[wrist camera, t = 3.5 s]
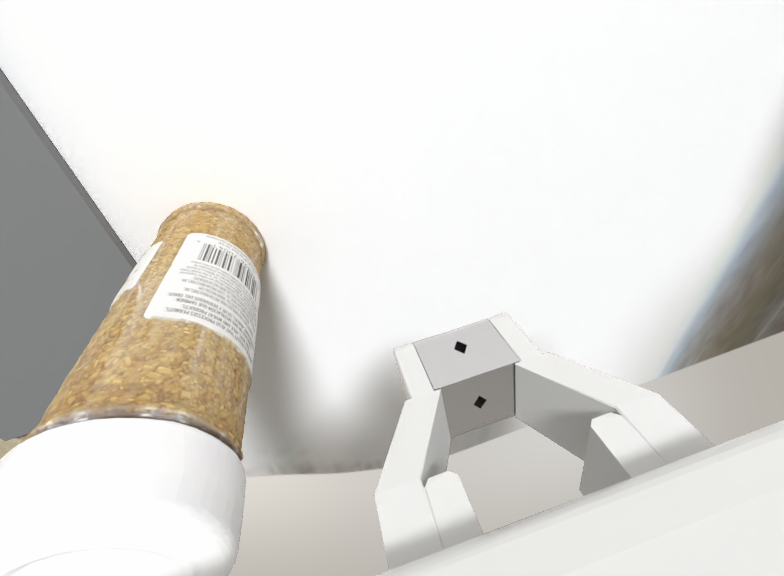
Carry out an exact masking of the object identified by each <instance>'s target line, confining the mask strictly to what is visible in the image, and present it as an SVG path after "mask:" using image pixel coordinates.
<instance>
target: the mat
mask: <svg viewBox="0 0 784 576" xmlns="http://www.w3.org/2000/svg"><path fill="white" fill-rule="evenodd" d="M136 264H137V263H136V262H135V261H134V259H133V258H132V256H131V255H130V253H129V252H128V251H127V249H126V248H125V246H124V245H123V243H122V242H121V241H120V239H119V238H118V236H117V235H116V233H115V232H114V231H113V229H112V228H111V226H110V225H109V223H108V222H107V221H106V219H105V218H104V216H103V215H102V213H101V212H100V211H99V209H98V208H97V206H96V205H95V203H94V202H93V201H92V199H91V198H90V196H89V195H88V193H87V192H86V191H85V189H84V188H83V186H82V185H81V183H80V182H79V181H78V179H77V178H76V176H75V175H74V173H73V172H72V171H71V169H70V168H69V166H68V165H67V163H66V162H65V161H64V159H63V158H62V156H61V155H60V154H59V152H58V151H57V149H56V148H55V146H54V145H53V144H52V142H51V141H50V139H49V138H48V136H47V135H46V134H45V132H44V131H43V129H42V128H41V126H40V125H39V124H38V122H37V121H36V119H35V118H34V116H33V115H32V114H31V112H30V111H29V109H28V108H27V106H26V105H25V104H24V102H23V101H22V99H21V98H20V96H19V95H18V94H17V92H16V91H15V89H14V88H13V86H12V85H11V84H10V82H9V81H8V79H7V78H6V76H5V75H4V74H3V72H2V71H1V69H0V438H1V439H3V440H4V441H7V440H10V439H13V438H16V437H20V436H23V435H26V434H29V433H30V432H31V431H32V430H33V429H35V428H36V426H37V425H38V424H39V423H40V422H41V420H42V418H43V415H44V413H45V411H46V409H47V408H48V406H49V405H50V404H51V402H52V401H53V399H54V397H55V396H56V394H57V393H58V391H59V389H60V387H61V385H62V383H63V382H64V380H65V378H66V377H67V375H68V374H69V373H70V371H71V370H72V368H73V367H74V365H75V364H76V362H77V361H78V359H79V357H80V356H81V355H82V353H83V351H84V350H85V348H86V346H87V345H88V344H89V342H90V340H91V339H92V337H93V335H94V334H95V332H96V331H97V330H98V328H99V327H100V325H101V323H102V321H103V320H104V319H105V317H106V316H107V314H108V312H109V310H110V307H111V304H112V302H113V301H114V299H115V297H116V295H117V294H118V292H119V291H120V289H121V287H122V286H123V285H124V283H125V282H126V280H127V278H128V276H129V275H130V273H131V272H132V270H133V269H134V267H135V266H136Z"/></svg>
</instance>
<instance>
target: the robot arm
mask: <svg viewBox="0 0 784 576" xmlns="http://www.w3.org/2000/svg"><path fill="white" fill-rule="evenodd" d="M393 354H394V357H395V361H396V365H397V369H398V372H399V376H400V380H401V383H402V386H403V390H404V393H405V396H406V401H405V402H404V405H403V408H402V411H401V414H400V417H399V420H398V424H397V427H396V430H395V433H394V436H393V439H392V442H391V445H390V448H389V451H388V454H387V457H386V460H385V463H384V466H383V469H382V472H381V475H380V479H379V482H378V485H377V488H376V491H375V494H374V498H375V503H376V508H377V513H378V518H379V523H380V527H381V533H382V537H383V543H384V548H385V553H386V558H387V563H388V568H389V570H388V571H386V572H383V573H380V574H378V575H375V576H784V420H782V421H780V422H777V423H774V424H772V425H769V426H767V427H764V428H761V429H759V430H756V431H753V432H751V433H748V434H746V435H743V436H740V437H738V438H735V439H732V440H730V441H727V442H725V443H722V444H719V445H717V446H715V445H714V444H712V443H711V442H710V441H709V440H708V439H707V438H706V437H705V436H704V435H703V434H702V433H700V432H699V431H698V430H697V429H696V428H695V427H694V426H693V425H692V424H691V423H689V422H688V421H687V420H686V419H685V418H684V417H683V416H682V415H681V414H680V413H679V412H678V411H676V410H675V409H674V408H673V407H672V406H671V405H670V404H669V403H668V402H667V401H666V400H664V399H663V398H662V397H661V396H660V395H659V394H658V393H655V392H652V391H650V390H647V389H644V388H642V387H639V386H637V385H634V384H631V383H629V382H626V381H623V380H621V379H618V378H615V377H613V376H610V375H607V374H605V373H602V372H600V371H597V370H594V369H592V368H589V367H586V366H584V365H581V364H578V363H576V362H573V361H571V360H568V359H565V358H563V357H560V356H557V355H555V354H552V353H549V352H548V353H544V354H542V353H541V351H540V350H539V349H538V348H537V347H536V346H535V344H534V343H533V342H532V341H531V340H530V339H529V338H528V336H527V335H526V334H525V333H524V332H523V331H522V329H521V328H520V327H519V326H518V325H517V324H516V323H515V321H514V320H513V319H512V318H511V317H510V316H509V314H507V313H505V312H504V313H501V314H498V315H495V316H492V317H489V318H487V319H486V320H485V319H484V320H481V321H478V322H475V323H472V324H469V325H466V326H463V327H460V328H457V329H454V330H451V331H449V332H446V333H442V334H439V335H436V336H432V337H429V338H425V339H422V340H419V341H415V342H412V343H411V344H407V345H404V346H400V347H397V348H393ZM515 415H516V418H518V419H519V420H521V421H522V422H524V423H526V424H527V425H529V426H530V427H532V428H533V429H535V430H537V431H538V432H540V433H541V434H543V435H544V436H546V437H548V438H549V439H551V440H552V441H554V442H555V443H557V444H558V445H560V446H562V447H563V448H565V449H566V450H568V451H570V452H571V453H572V454H574V455H576V456H577V457H579V458H580V459H582V460H584V466H583V472H582V478H581V483H580V491H581V493H582V494H583V497H580V498H577V499H575V500H572V501H570V502H567V503H564V504H562V505H559V506H556V507H554V508H551V509H549V510H546V511H543V512H541V513H538V514H535V515H533V516H530V517H527V518H525V519H522V520H520V521H517V522H514V523H512V524H509V525H506V526H504V527H501V528H498V529H496V530H493V531H491V532H488V533H485V534H483V532H482V529H481V527H480V525H479V522H478V520H477V518H476V515H475V513H474V510H473V508H472V506H471V503H470V501H469V499H468V496H467V494H466V492H465V489H464V487H463V485H462V482H461V480H460V478H459V475H458V474H456V473H453V472H451V471H446V469H447V463H448V457H449V450H450V443H451V439H450V438H453V437H455V436H458V435H461V434H463V433H466V432H468V431H471V430H474V429H476V428H479V427H481V426H484V425H488V424H491V423H494V422H497V421H500V420H503V419H506V418H509V417H512V416H515Z"/></svg>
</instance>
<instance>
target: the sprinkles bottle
mask: <svg viewBox="0 0 784 576" xmlns="http://www.w3.org/2000/svg"><path fill="white" fill-rule="evenodd" d="M264 260H265V246H264V241H263V238H262V235H261V234H260V232H259V231H258V229H257V227H256V226H255V225H254V224H253V223H252V222H251V221H250V220H249V219H248V218H247V217H246V216H245V215H243V214H242V213H240V212H238V211H237V210H235V209H233V208H231V207H229V206H225V205H222V204H217V203H210V202H209V203H203V202H201V203H190V204H187V205H185V206H183V207H181V208H179V209H177V210H175V211H174V212H173V213H171V214H170V216H168V217H167V218H166V219H165V221H164V222H163V223H162V224H161V226H160V228H159V230H158V234H157V238H156V240H155V241H154V242H153V244H152V245H151V247H150V248H149V249H148V250H147V251H146V252H145V253H144V255H143V256H142V257H141V259H140V260H139V261H138V263H137V264H136V266H135V267H134V269H133V270H132V272H131V273H130V275H129V276H128V278H127V280H126V282H125V283H124V285H123V286H122V287H121V289H120V291H119V292H118V294H117V295H116V297H115V299H114V301H113V302H112V304H111V307H110V310H109V312H108V314H107V316H106V317H105V319H104V320H103V321H102V323H101V325H100V327H99V328H98V330H97V331H96V332H95V334H94V335H93V337H92V339H91V340H90V342H89V344H88V345H87V346H86V348H85V350H84V351H83V353H82V355H81V356H80V357H79V359H78V361H77V362H76V364H75V365H74V367H73V368H72V370H71V371H70V373H69V374H68V375H67V377H66V378H65V380H64V382H63V383H62V385H61V387H60V389H59V391H58V393H57V394H56V396H55V397H54V399H53V401H52V402H51V404H50V405H49V406H48V408H47V409H46V411H45V413H44V415H43V418H42V420H41V422H40V423H39V424H38V425H37V426H36V428H35V429H33V430H32V431H31V432H30V433H29V434H28V435H27V436H26V437H25V438H24V439H23V440H22V441H21V443H20V444H19V445H17V446H16V447H15V448H13V449H12V450H11V451H9V452H8V453H7V454H6V455H5V456H4V457H3V458H1V460H0V576H228V575H229V573H230V572H231V570H232V568H233V566H234V564H235V561H236V558H237V554H238V550H239V542H240V534H241V527H242V518H243V509H244V498H245V484H246V477H245V471H244V468H243V465H242V463H241V460H242V459H243V453H242V451H241V447H242V438H243V433H244V424H245V414H246V404H247V396H248V391H249V388H250V385H251V380H252V370H253V361H254V352H255V342H256V332H257V322H258V312H259V301H260V272H261V269H262V266H263V263H264Z"/></svg>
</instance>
